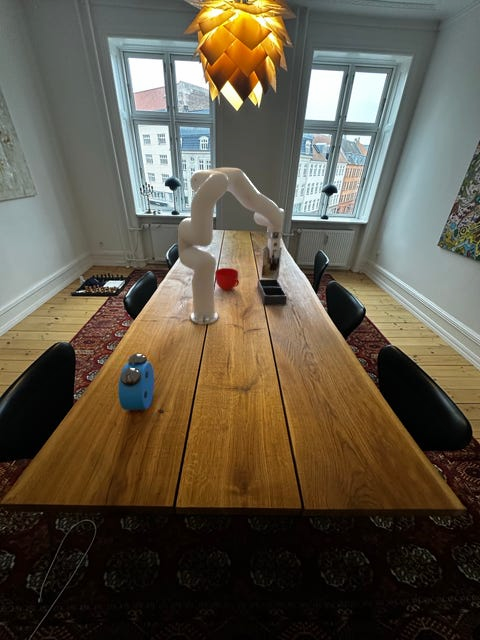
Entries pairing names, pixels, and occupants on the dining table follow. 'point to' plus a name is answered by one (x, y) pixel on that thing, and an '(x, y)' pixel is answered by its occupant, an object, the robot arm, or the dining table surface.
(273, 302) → the black divided tray
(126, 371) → the alarm clock
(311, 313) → the dining table surface
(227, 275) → the ceramic cup
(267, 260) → the coffee box
